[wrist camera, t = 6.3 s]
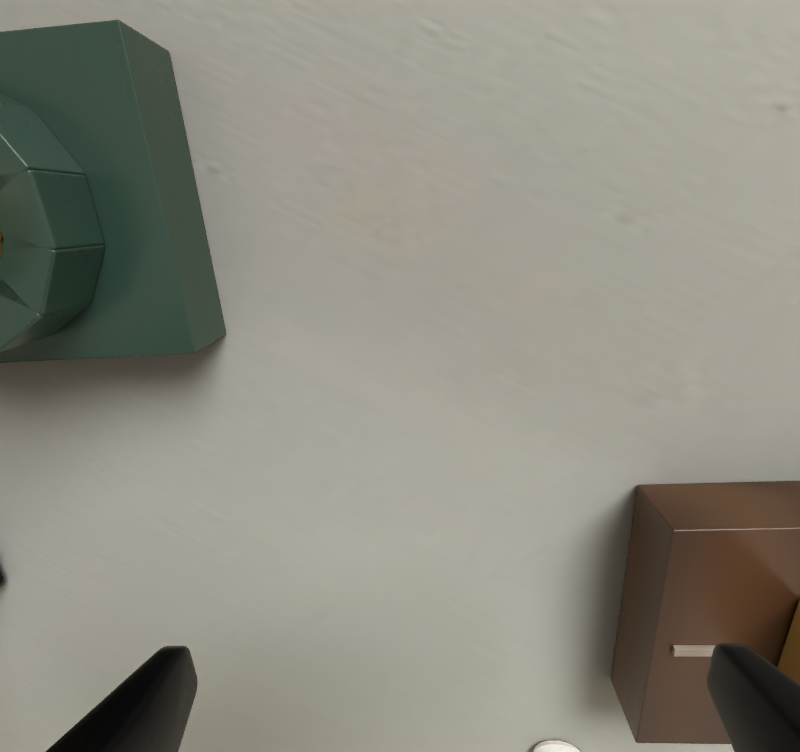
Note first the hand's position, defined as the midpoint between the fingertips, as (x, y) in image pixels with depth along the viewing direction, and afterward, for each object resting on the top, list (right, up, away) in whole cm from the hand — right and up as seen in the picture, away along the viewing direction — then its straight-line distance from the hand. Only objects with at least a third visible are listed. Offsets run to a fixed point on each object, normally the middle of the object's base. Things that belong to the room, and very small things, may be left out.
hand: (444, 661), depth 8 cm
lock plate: (+13, -3, +10) cm, 17 cm away
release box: (-12, +10, +6) cm, 17 cm away
